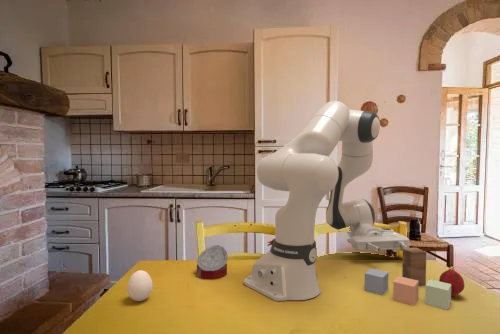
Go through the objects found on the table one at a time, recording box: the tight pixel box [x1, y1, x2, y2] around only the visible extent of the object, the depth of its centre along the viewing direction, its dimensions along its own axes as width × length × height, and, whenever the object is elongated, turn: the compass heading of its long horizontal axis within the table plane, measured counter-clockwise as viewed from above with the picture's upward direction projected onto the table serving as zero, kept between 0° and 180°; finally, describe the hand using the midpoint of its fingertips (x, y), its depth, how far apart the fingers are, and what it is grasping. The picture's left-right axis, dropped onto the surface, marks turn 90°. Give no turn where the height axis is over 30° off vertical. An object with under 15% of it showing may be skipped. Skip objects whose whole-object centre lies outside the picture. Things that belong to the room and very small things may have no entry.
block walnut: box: [401, 247, 427, 287], centre depth 94 cm, size 4×4×10 cm
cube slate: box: [364, 268, 389, 296], centre depth 89 cm, size 5×5×5 cm
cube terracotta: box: [392, 275, 420, 306], centre depth 84 cm, size 5×5×5 cm
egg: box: [126, 269, 153, 302], centre depth 83 cm, size 6×6×8 cm
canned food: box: [196, 244, 229, 281], centre depth 102 cm, size 11×10×10 cm
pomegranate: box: [438, 266, 465, 297], centre depth 85 cm, size 6×6×8 cm
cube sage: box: [424, 278, 452, 311], centre depth 81 cm, size 5×5×5 cm
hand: (391, 249), depth 106 cm, fingers open, 8 cm apart
